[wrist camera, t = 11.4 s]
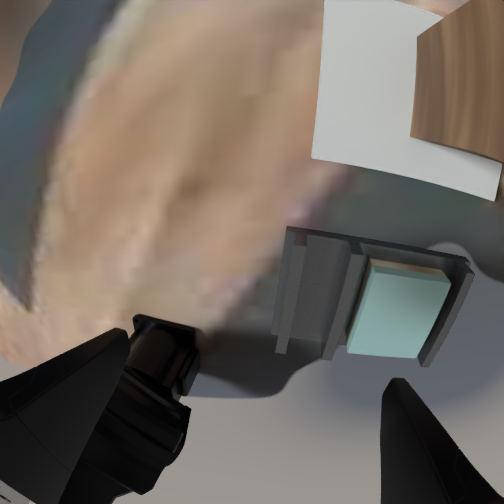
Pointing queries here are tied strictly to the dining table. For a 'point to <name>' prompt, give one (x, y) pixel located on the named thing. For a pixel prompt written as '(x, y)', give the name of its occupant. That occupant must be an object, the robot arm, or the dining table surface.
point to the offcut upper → (397, 312)
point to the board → (383, 98)
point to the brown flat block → (462, 81)
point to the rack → (350, 287)
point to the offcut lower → (389, 265)
